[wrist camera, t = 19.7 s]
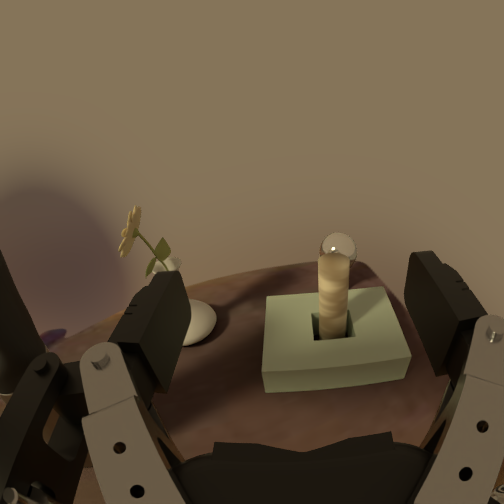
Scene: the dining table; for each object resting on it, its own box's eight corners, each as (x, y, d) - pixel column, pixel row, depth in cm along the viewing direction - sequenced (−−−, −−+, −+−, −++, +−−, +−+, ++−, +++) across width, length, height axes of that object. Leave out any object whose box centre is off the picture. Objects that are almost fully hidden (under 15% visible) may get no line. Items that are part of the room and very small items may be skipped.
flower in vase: (177, 306, 60) (141, 187, 48) (228, 313, 56) (199, 182, 44) (142, 350, 49) (87, 220, 37) (197, 365, 45) (146, 219, 33)
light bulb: (327, 304, 54) (327, 246, 48) (314, 284, 60) (312, 230, 54) (361, 295, 55) (364, 238, 49) (345, 276, 61) (346, 223, 55)
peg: (319, 358, 43) (319, 270, 35) (317, 339, 47) (316, 254, 39) (345, 355, 43) (352, 268, 35) (342, 337, 46) (346, 251, 38)
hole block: (265, 392, 39) (261, 371, 37) (269, 318, 53) (266, 296, 51) (403, 378, 36) (411, 356, 34) (380, 308, 50) (383, 286, 48)
